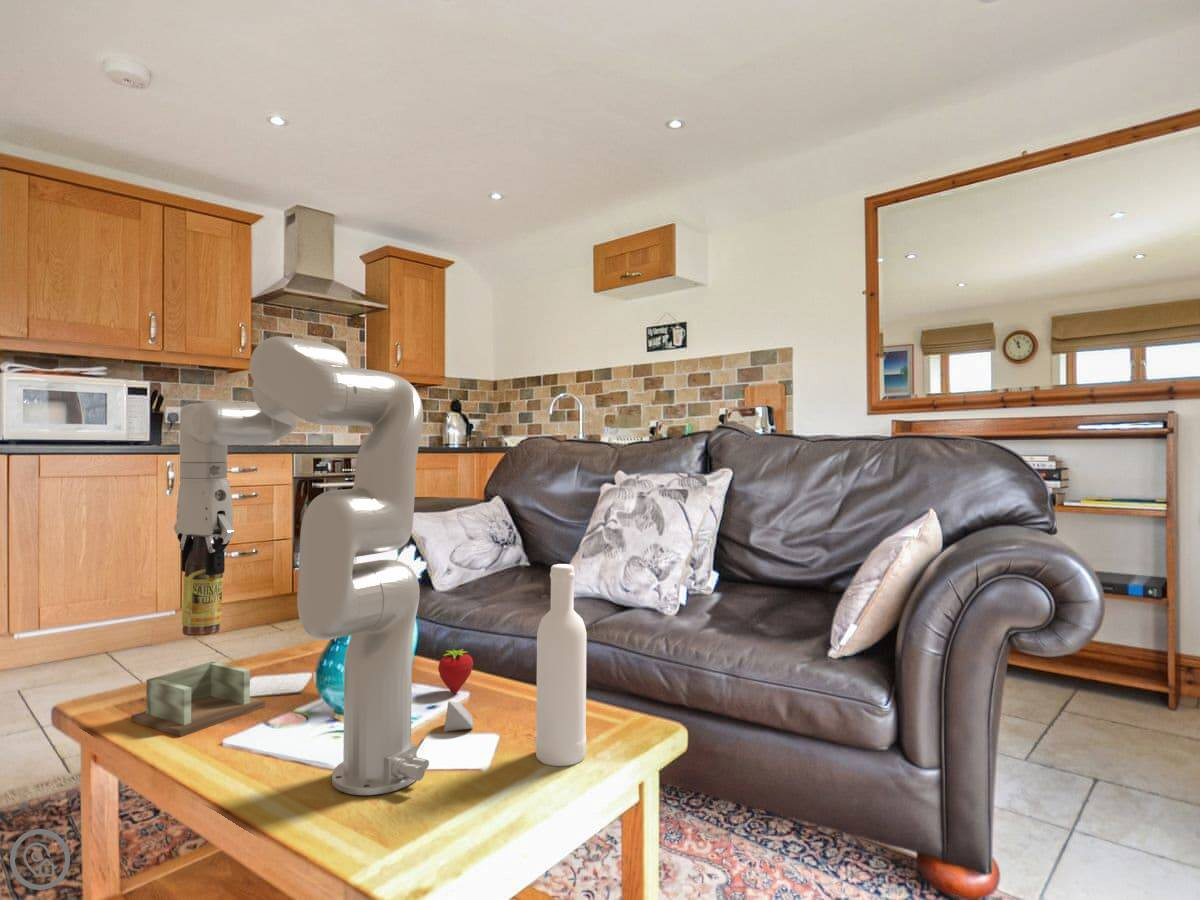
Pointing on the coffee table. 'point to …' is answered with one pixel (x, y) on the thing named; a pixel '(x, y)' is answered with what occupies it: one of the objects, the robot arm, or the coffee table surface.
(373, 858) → the coffee table surface
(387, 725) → the robot arm
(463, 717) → the grey pyramid
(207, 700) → the rest
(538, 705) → the bottle
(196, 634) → the sauce bottle
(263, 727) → the coffee table surface
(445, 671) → the strawberry
